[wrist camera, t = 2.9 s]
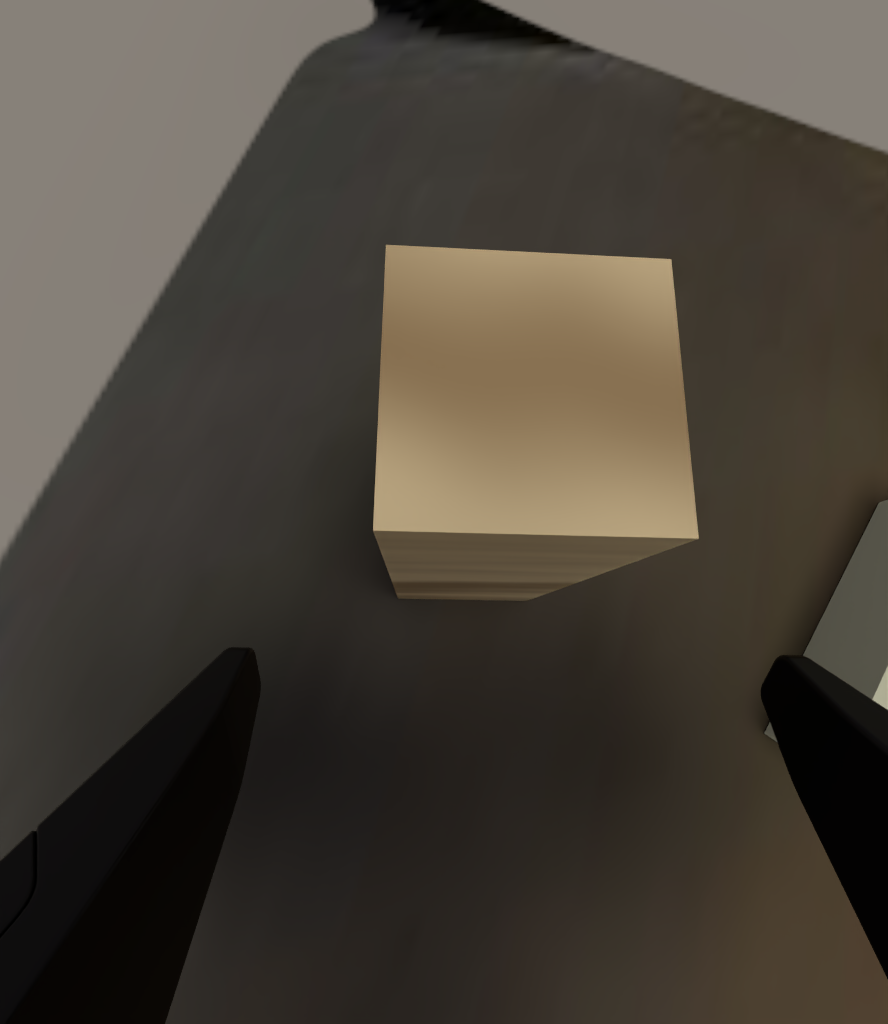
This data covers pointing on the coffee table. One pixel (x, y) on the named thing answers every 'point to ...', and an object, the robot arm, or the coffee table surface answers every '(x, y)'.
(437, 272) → the birch block
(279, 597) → the coffee table surface
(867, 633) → the white flat block
